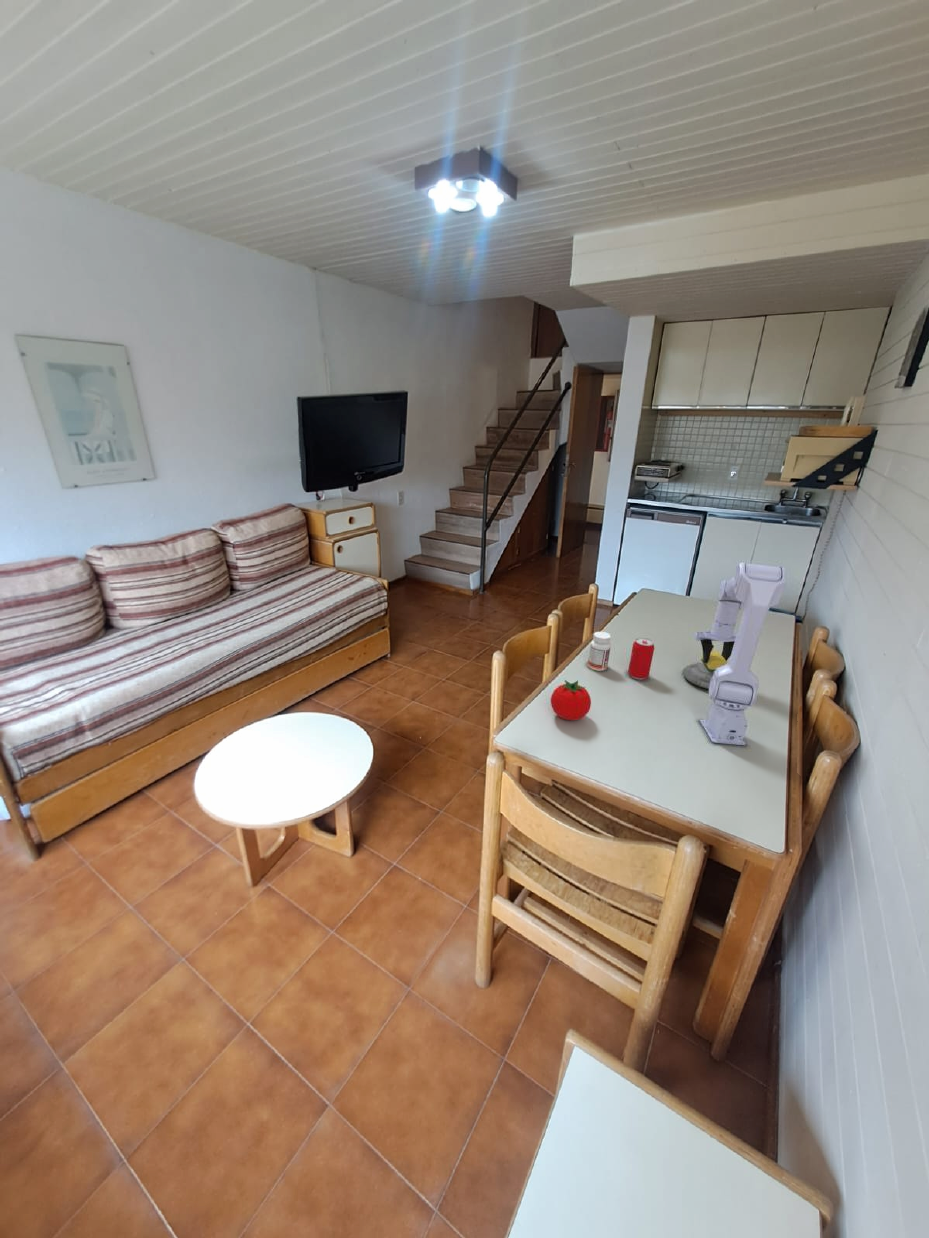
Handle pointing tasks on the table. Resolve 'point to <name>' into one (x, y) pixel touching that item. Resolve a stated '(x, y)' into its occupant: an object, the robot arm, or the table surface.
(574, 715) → the tomato
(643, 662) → the beverage can
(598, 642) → the pill bottle
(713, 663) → the sponge
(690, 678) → the flying saucer
